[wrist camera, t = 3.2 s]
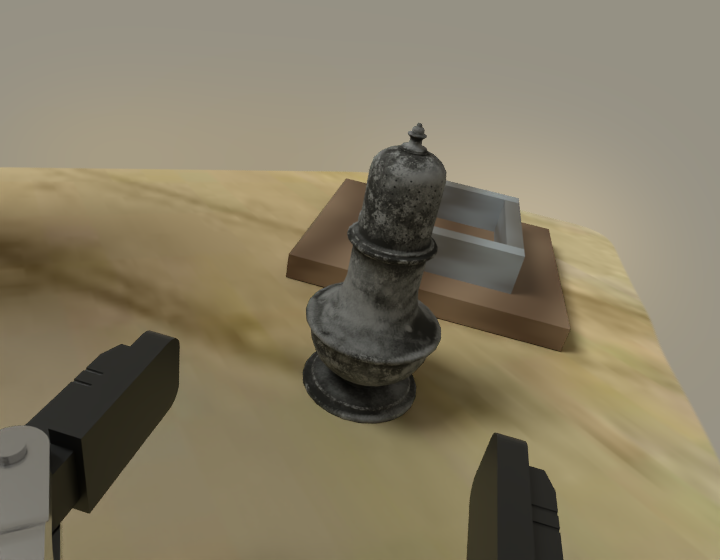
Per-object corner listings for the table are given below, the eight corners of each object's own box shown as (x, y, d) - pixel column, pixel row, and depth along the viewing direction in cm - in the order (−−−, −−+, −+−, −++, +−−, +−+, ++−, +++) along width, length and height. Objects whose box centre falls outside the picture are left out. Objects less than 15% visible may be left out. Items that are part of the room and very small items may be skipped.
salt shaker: (287, 341, 27) (322, 91, 21) (399, 340, 29) (461, 109, 23) (308, 433, 22) (361, 143, 16) (441, 424, 24) (533, 159, 18)
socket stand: (285, 276, 32) (294, 214, 30) (343, 196, 44) (351, 147, 42) (560, 351, 30) (588, 290, 28) (541, 246, 42) (560, 199, 40)
